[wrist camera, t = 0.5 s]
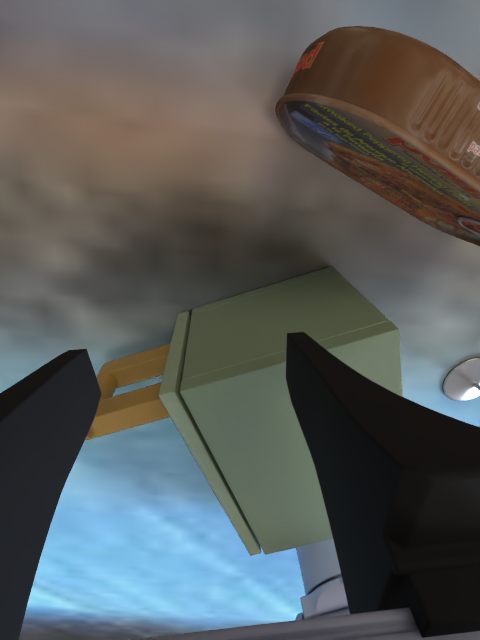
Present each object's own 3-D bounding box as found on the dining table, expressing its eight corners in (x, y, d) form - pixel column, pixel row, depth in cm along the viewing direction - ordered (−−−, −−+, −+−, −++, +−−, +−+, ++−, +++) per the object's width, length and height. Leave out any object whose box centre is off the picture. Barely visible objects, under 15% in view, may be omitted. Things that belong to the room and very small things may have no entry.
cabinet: (252, 449, 29) (265, 555, 21) (192, 308, 21) (179, 391, 14) (356, 422, 28) (409, 520, 20) (331, 265, 21) (399, 329, 13)
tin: (260, 122, 16) (297, 94, 9) (290, 55, 15) (362, -42, 8) (456, 243, 20) (593, 293, 13) (493, 198, 19) (667, 225, 12)
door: (179, 470, 29) (167, 575, 22) (95, 338, 22) (35, 430, 14) (249, 451, 29) (261, 553, 21) (188, 310, 21) (174, 391, 14)
